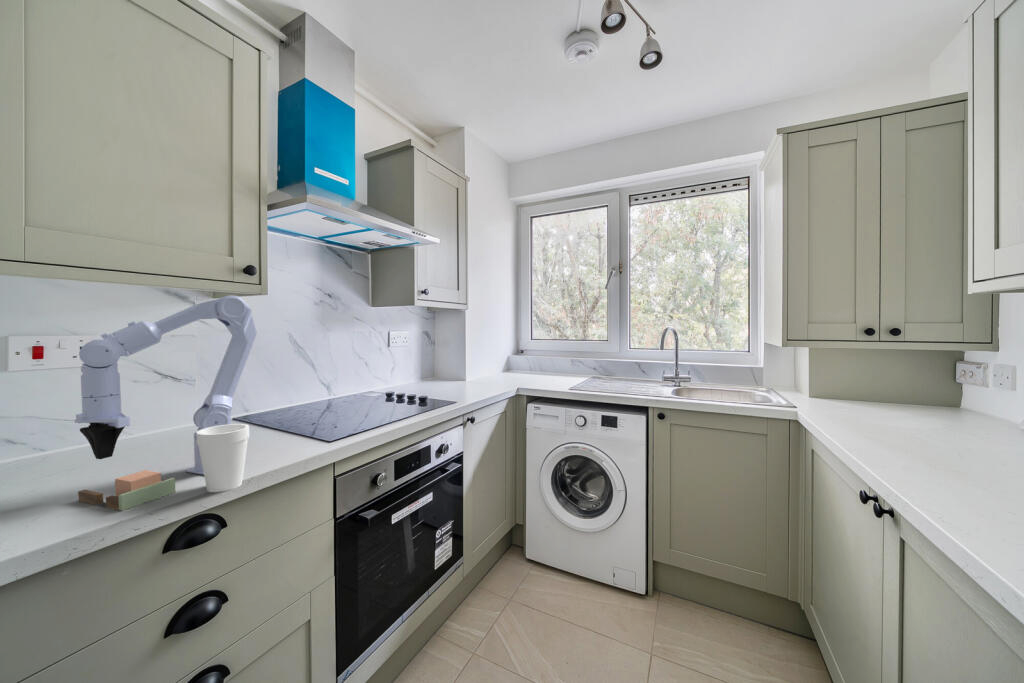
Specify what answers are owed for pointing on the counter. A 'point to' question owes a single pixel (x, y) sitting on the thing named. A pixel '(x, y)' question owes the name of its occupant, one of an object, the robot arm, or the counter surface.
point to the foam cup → (223, 455)
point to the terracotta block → (136, 481)
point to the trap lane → (129, 495)
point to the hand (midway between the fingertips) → (104, 457)
